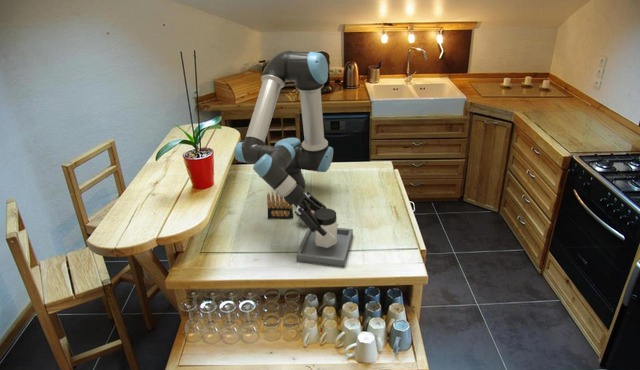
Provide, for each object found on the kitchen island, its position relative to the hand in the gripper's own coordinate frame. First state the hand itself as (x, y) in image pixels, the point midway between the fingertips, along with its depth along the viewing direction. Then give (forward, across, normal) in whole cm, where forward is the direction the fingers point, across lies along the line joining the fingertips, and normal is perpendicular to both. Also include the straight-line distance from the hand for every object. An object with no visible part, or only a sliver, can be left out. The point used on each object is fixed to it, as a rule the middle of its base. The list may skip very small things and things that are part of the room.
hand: (334, 232), depth 168 cm
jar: (+1, 0, -6) cm, 6 cm away
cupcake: (-5, -16, -15) cm, 23 cm away
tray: (+3, 0, -8) cm, 8 cm away
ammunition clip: (-13, -18, -24) cm, 33 cm away
